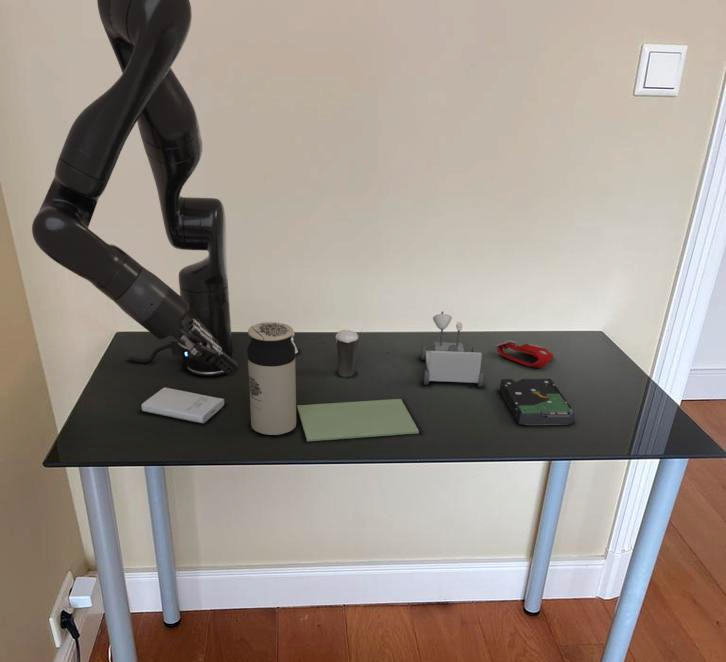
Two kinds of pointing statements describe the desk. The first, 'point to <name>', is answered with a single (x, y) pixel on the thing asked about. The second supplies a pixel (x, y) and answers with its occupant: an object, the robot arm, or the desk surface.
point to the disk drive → (536, 402)
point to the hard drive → (183, 405)
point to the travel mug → (272, 378)
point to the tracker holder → (530, 349)
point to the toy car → (451, 359)
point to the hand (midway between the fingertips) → (234, 370)
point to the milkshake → (346, 352)
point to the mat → (355, 420)
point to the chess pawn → (293, 342)
